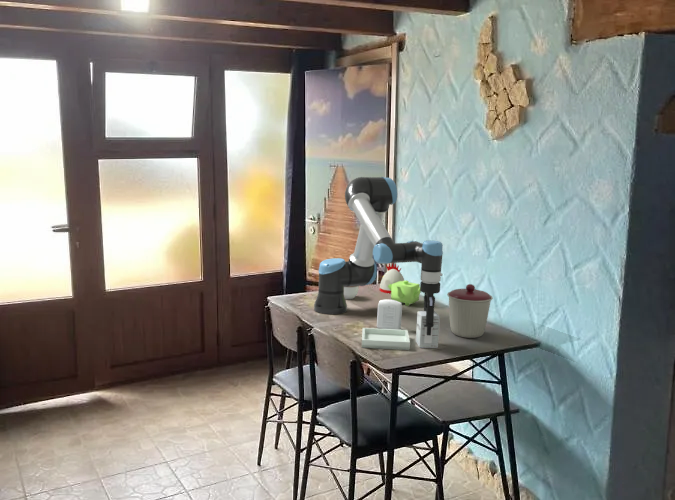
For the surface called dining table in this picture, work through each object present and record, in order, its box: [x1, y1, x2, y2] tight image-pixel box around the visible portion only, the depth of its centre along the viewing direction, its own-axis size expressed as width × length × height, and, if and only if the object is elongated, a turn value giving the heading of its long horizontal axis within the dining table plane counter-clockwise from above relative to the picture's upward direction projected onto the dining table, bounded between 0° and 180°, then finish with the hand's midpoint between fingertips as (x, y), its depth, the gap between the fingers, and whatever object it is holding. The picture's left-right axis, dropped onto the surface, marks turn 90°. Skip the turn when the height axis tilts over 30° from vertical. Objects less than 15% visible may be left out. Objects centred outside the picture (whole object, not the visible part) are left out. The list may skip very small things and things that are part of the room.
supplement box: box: [415, 310, 441, 349], centre depth 242 cm, size 7×7×13 cm
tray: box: [361, 327, 411, 351], centre depth 244 cm, size 18×16×3 cm
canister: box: [447, 283, 494, 339], centre depth 257 cm, size 18×18×21 cm
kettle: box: [388, 279, 422, 307], centre depth 306 cm, size 15×14×11 cm
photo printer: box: [376, 298, 403, 330], centre depth 262 cm, size 10×4×12 cm, turn 72°
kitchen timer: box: [379, 263, 405, 295], centre depth 331 cm, size 14×14×15 cm
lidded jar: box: [344, 286, 360, 300], centre depth 313 cm, size 11×11×9 cm
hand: (426, 339), depth 243 cm, fingers closed on supplement box, 8 cm apart
